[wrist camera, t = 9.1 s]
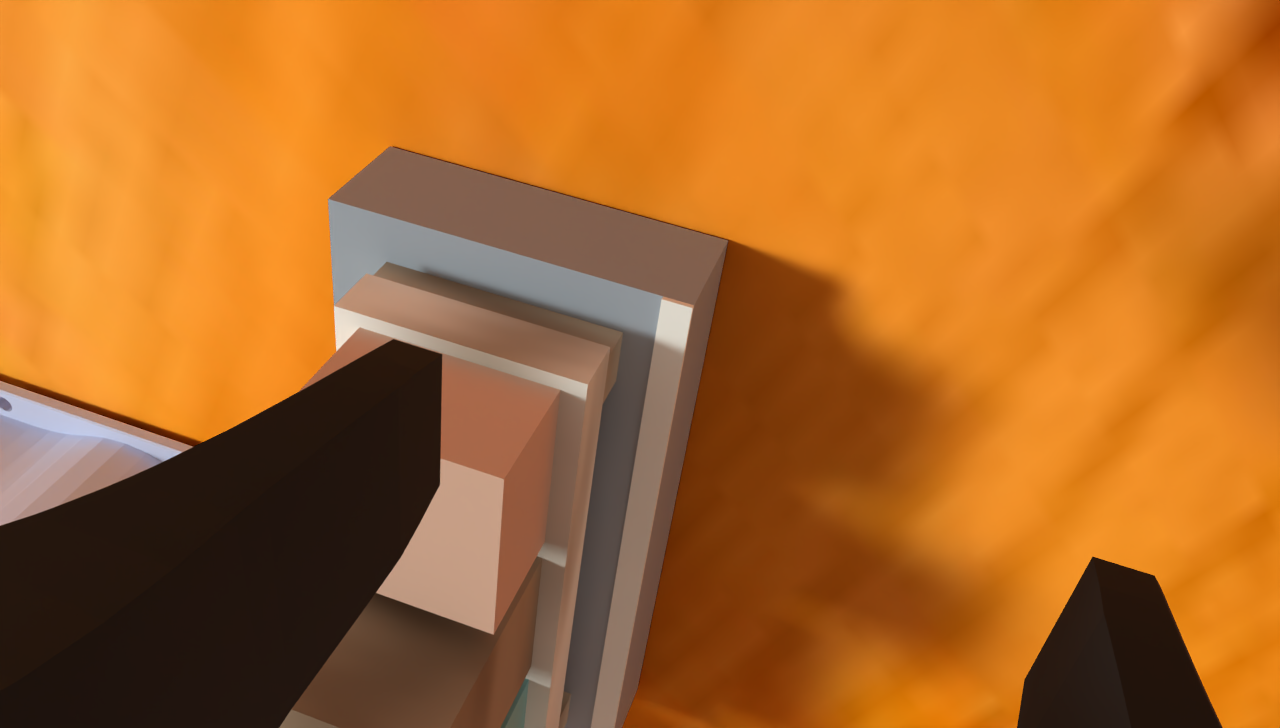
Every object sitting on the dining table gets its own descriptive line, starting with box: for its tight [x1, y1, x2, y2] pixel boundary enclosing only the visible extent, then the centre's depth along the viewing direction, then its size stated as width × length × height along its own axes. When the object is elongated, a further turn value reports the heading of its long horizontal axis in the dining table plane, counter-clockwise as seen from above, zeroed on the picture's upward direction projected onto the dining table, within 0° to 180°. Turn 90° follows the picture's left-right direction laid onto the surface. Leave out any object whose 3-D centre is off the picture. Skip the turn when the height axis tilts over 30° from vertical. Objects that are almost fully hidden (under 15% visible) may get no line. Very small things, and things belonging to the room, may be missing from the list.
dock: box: [328, 146, 728, 728], centre depth 27 cm, size 8×15×3 cm, turn 173°
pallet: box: [279, 262, 623, 728], centre depth 23 cm, size 5×13×7 cm, turn 173°
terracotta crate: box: [300, 327, 560, 635], centre depth 21 cm, size 4×4×2 cm
